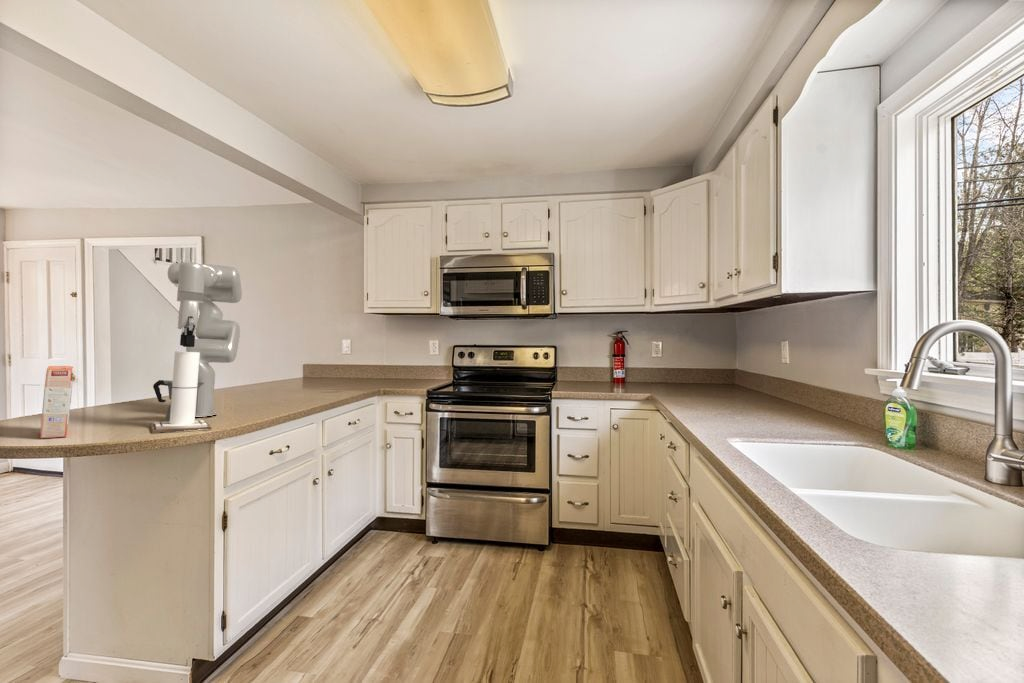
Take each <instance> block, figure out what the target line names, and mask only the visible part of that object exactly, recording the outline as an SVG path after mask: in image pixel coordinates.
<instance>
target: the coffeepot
mask: <svg viewBox="0 0 1024 683" xmlns="http://www.w3.org/2000/svg"><path fill="white" fill-rule="evenodd" d="M172 383H173V380H168V379H167V380H164V379H163V380H162V379H159V380H157V381H156V382H155V383H154V384H153V385H152V387H153V390H154V393H155V396H156V398H157V402H159V403H166V401H167V400H166V399H163V398H162V393H161V388H160V386H166V387H168V388H167V391H168V398H169V400H171V397H172ZM202 384H204V383H203V382H199V381H198V384H197V390H198V389H199V388H200V386H201V385H202ZM170 410H171V403H170V404H169V405H168V408H167V413H166V415H165V419H164V421H170Z"/></svg>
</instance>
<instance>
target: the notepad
mask: <svg viewBox="0 0 1024 683" xmlns="http://www.w3.org/2000/svg"><path fill="white" fill-rule="evenodd" d="M150 428H151V429H152V430H151V434H152V433H153V434H161V433H160V432H170V433H174V432H173V431H184V430H198V429H211V430H212V426H211V425H210V424H209V423H208V422H207V421H206V420H204V419H195V423H193V424H184V425H173V424H170V421H165V420H164V421H154V423H150Z"/></svg>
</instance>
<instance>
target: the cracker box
mask: <svg viewBox="0 0 1024 683" xmlns="http://www.w3.org/2000/svg"><path fill="white" fill-rule="evenodd" d="M73 383H74V367H73V366H69V365H48V367H47V368H46V372H45V380H44V389H43V400H42V409H41V410H42V412H41V421H40V430H39V431H40V433H39V439H42V438H45V439H58V438H57V437H62V438H67V435H68V428H69V427H68V426H69V419H70V411H71V402H72V395H73V394H72V393H73Z"/></svg>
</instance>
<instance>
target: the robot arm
mask: <svg viewBox="0 0 1024 683" xmlns="http://www.w3.org/2000/svg"><path fill="white" fill-rule="evenodd" d="M167 277H168V280H169V281H170V283H172V284H174V285H177V291H176V292H177V294H176V301H177V302H179V310H178V321H177V329H178V330H181V333H180V342H179V345H180V346H182V347H185V352H200V357H199V370H198V381H199V382H203V383H204V384H202V385H201V386H200V388H199V389H198V390H197V398H196V411H195V416H206V415H213V414H216V413H217V414H218V412H216V411H214V410H213V409H214V396H215V381H216V372H215V369H214V368H213V367H212V366H211V364H209V363H218V364H219V363H223V364H226V363H230V364H231V363H232V362H234V361H235V360H236V358H237V354H238V348H239V342H240V337H241V329H240V325H239V323H238V322H236V321H234V320H226V319H223V316H224V314H223V311H222V310H221V308H220V307H218V305H216V304H215V302H217V303H228V304H229V303H230V304H237V303H239V302H240V301H241V300H242V296H243V291H242V284H241V277H240V273H239V271H238V269H236V268H235V267H233V266H228V265H219V264H210V263H209V264H208V263H207V264H205V263H198V262H197V263H196V262H189V261H188V262H186V261H184V262H181V263H180V262H178V263H177V262H173V263H172V264H170V265H169V266H168V269H167Z"/></svg>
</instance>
